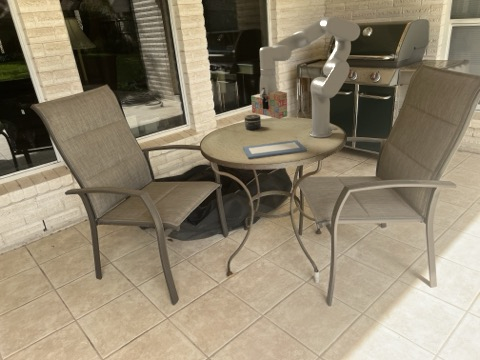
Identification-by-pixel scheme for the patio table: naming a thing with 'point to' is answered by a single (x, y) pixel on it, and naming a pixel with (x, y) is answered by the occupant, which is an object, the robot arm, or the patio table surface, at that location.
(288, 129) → the patio table surface
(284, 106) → the stack of blocks
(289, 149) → the board
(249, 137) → the patio table surface
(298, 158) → the patio table surface
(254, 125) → the jar
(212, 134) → the patio table surface
